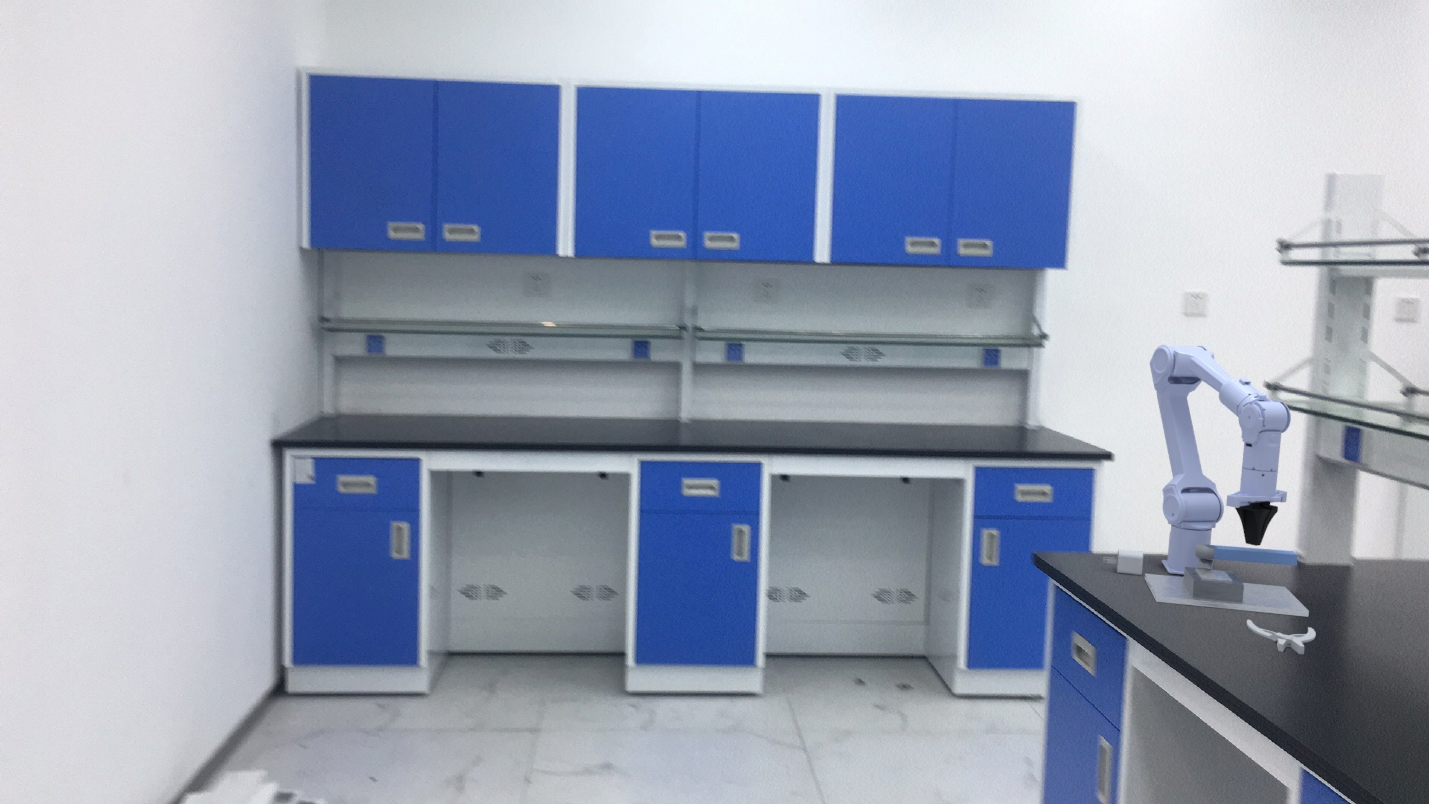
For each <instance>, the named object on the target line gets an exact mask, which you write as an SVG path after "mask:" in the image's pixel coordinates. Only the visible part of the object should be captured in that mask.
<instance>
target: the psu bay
mask: <svg viewBox="0 0 1429 804" xmlns="http://www.w3.org/2000/svg"><path fill="white" fill-rule="evenodd" d="M1213 563H1214V559H1202V558H1199V560H1198V568H1192V567H1184V575H1183V576H1175V575H1173V576H1172V575H1163V574H1156V573H1155V574H1153V573H1144V581H1145V582H1146V585H1147V586H1148V588H1149V590H1150V592H1151V594H1152V597H1153V598H1154V600H1155V602H1156V603H1163V604H1164V603H1167V604H1174V605H1176V604H1177V605H1186V606H1194V607H1195V606H1197V607H1208V608H1214V609H1215V608H1216V609H1226V610H1236V611H1245V612H1258V613H1267V614H1276V615H1277V614H1278V615H1287V616H1295V617H1296V616H1297V617H1307V618H1308V617H1309V615H1310V614H1309V613H1310V611H1309V609H1308V608H1307V607H1306V606H1304V604H1303V603H1302V602H1301V601H1300V600H1299V599H1297V597H1296V596H1295V595H1294V594H1293V593H1292V592H1291V591H1290V590H1289V589H1288V588H1287V587H1286V586H1283V585H1282V586H1281V585H1270V584H1269V585H1268V584H1261V583H1259V584H1258V583H1247V582H1242V581H1241V580H1240V578H1239V577H1237V575H1236V573H1234V571H1232V570H1223V569H1214V568H1213Z"/></svg>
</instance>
